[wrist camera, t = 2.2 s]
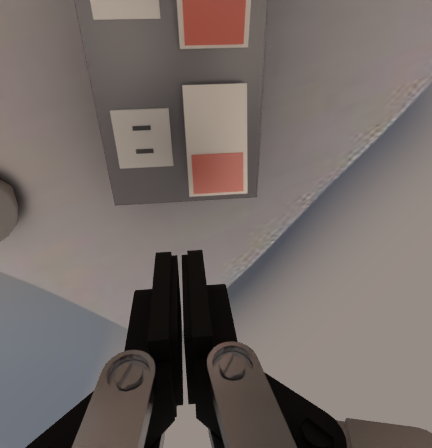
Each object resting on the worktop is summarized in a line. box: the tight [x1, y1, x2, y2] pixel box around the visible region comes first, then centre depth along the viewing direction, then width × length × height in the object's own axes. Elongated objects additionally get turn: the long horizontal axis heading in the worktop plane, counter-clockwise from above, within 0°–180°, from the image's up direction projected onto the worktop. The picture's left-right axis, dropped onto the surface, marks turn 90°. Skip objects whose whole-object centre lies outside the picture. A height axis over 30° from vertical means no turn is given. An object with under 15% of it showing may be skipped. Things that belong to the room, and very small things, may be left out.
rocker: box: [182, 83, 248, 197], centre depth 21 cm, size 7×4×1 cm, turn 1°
